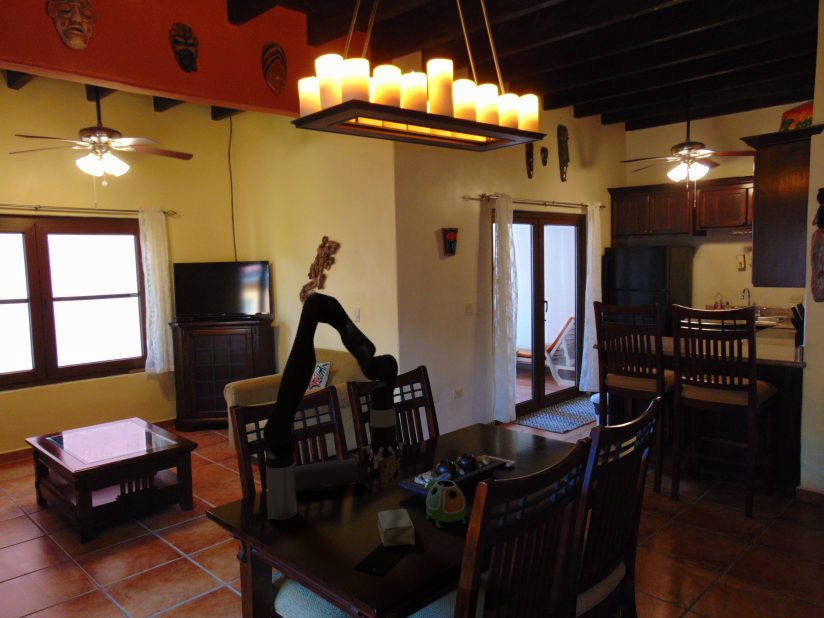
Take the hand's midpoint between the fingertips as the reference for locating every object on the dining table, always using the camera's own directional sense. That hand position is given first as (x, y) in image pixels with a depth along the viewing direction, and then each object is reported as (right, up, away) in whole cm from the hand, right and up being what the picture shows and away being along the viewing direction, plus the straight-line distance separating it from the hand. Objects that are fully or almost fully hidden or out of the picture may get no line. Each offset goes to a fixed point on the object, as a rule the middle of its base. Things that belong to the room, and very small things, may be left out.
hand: (386, 478), depth 173 cm
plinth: (+3, -18, +2) cm, 18 cm away
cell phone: (0, -20, -10) cm, 22 cm away
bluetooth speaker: (-24, -16, +41) cm, 50 cm away
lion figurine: (0, -1, +1) cm, 1 cm away
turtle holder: (+18, -17, +14) cm, 28 cm away
